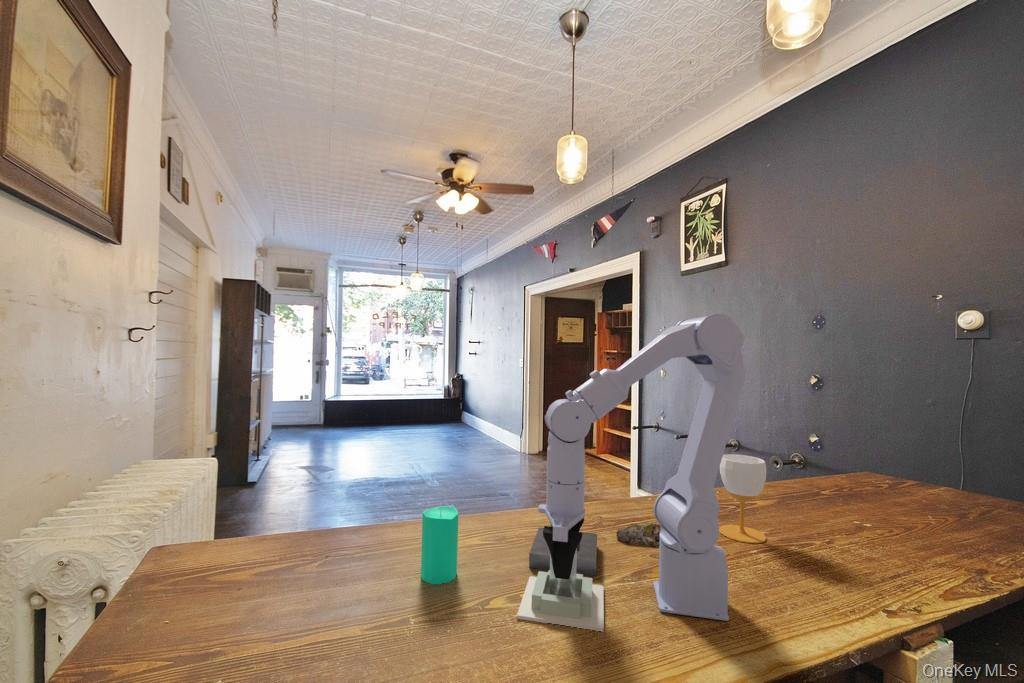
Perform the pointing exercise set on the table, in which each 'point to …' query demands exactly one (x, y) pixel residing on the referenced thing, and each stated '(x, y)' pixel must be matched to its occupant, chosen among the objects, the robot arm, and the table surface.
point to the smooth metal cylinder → (563, 581)
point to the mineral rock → (640, 534)
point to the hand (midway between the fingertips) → (563, 570)
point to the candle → (439, 544)
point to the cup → (743, 491)
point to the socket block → (585, 554)
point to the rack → (563, 604)
